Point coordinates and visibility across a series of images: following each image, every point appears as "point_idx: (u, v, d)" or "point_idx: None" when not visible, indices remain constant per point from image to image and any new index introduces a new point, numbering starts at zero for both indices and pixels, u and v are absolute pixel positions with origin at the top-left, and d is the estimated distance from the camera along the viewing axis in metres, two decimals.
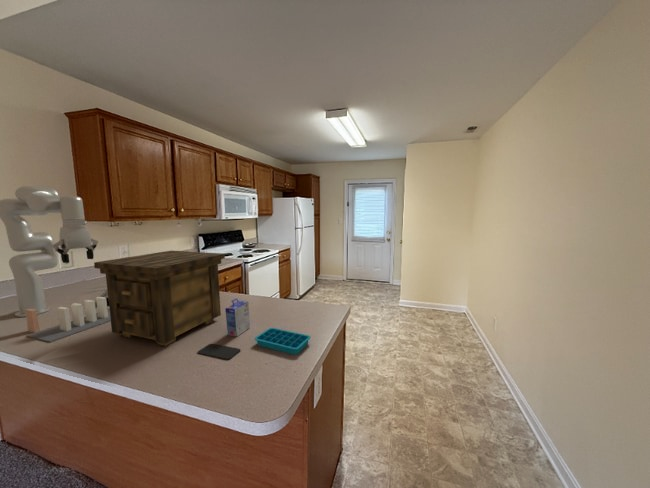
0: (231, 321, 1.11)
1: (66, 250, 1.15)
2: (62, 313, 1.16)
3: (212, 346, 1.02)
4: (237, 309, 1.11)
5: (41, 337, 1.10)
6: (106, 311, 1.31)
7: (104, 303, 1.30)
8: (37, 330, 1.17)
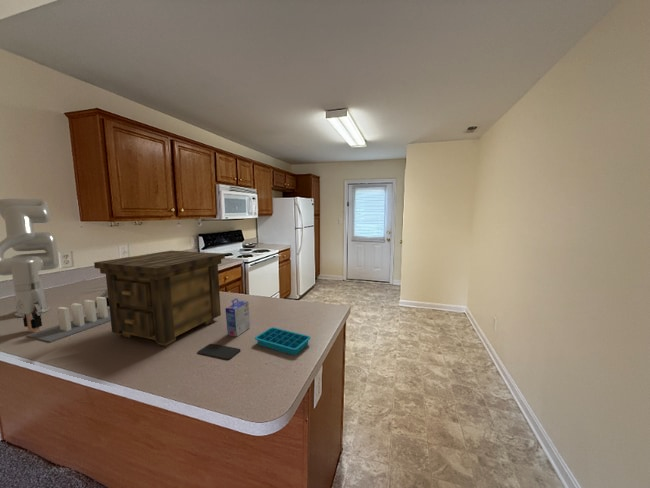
0: (231, 321, 1.11)
1: None
2: (62, 313, 1.16)
3: (212, 346, 1.02)
4: (237, 309, 1.11)
5: (41, 337, 1.10)
6: (106, 311, 1.31)
7: (104, 303, 1.30)
8: (37, 330, 1.17)
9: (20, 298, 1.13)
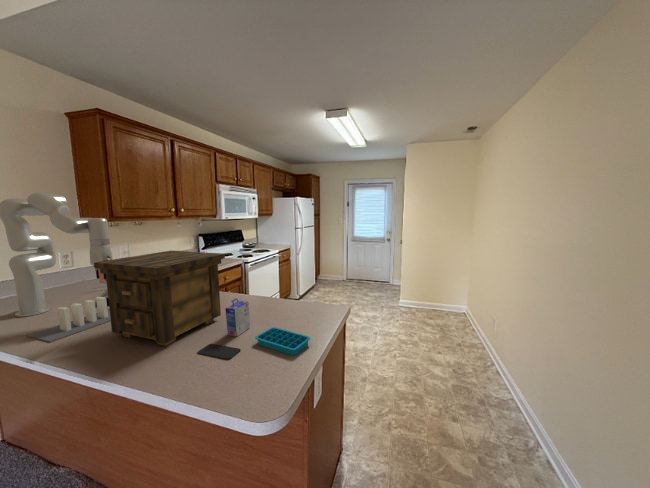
0: (231, 321, 1.11)
1: None
2: (62, 313, 1.16)
3: (212, 346, 1.02)
4: (237, 309, 1.11)
5: (41, 337, 1.10)
6: (106, 311, 1.31)
7: (104, 303, 1.30)
8: None
9: (95, 252, 1.28)
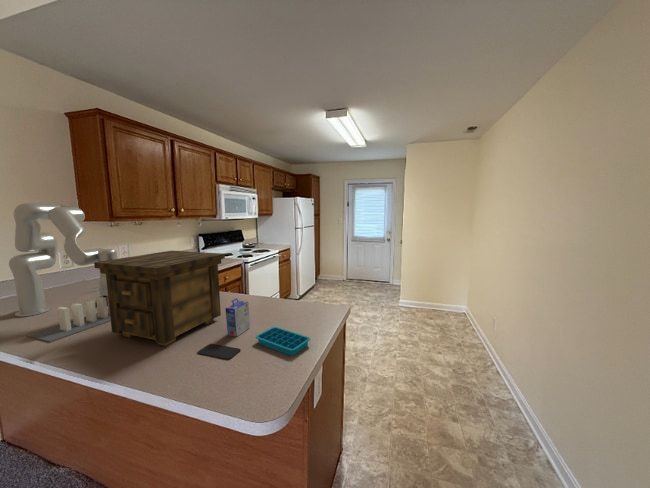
0: (231, 321, 1.11)
1: None
2: (62, 313, 1.16)
3: (212, 346, 1.02)
4: (237, 309, 1.11)
5: (41, 337, 1.10)
6: (106, 311, 1.31)
7: (104, 303, 1.30)
8: None
9: (105, 282, 1.32)
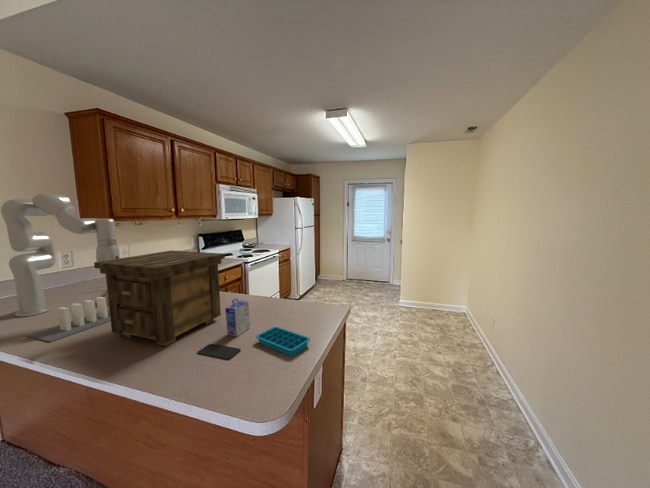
0: (231, 321, 1.11)
1: None
2: (62, 313, 1.16)
3: (212, 346, 1.02)
4: (237, 309, 1.11)
5: (41, 337, 1.10)
6: (106, 311, 1.31)
7: (104, 303, 1.30)
8: None
9: (103, 252, 1.30)
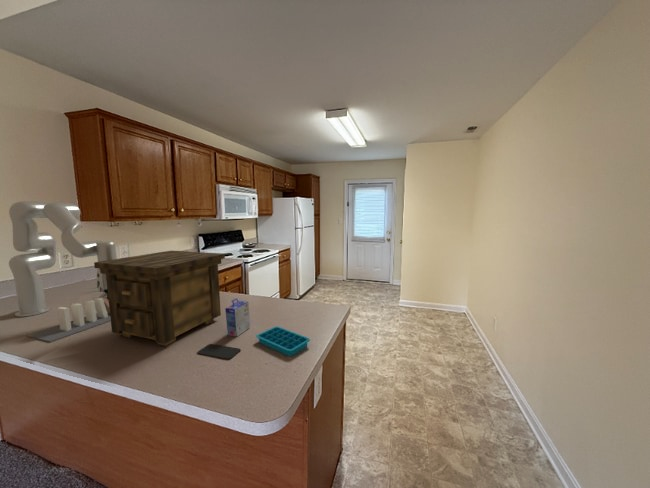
0: (231, 321, 1.11)
1: None
2: (62, 313, 1.16)
3: (212, 346, 1.02)
4: (237, 309, 1.11)
5: (41, 337, 1.10)
6: (105, 311, 1.31)
7: (102, 304, 1.29)
8: None
9: None
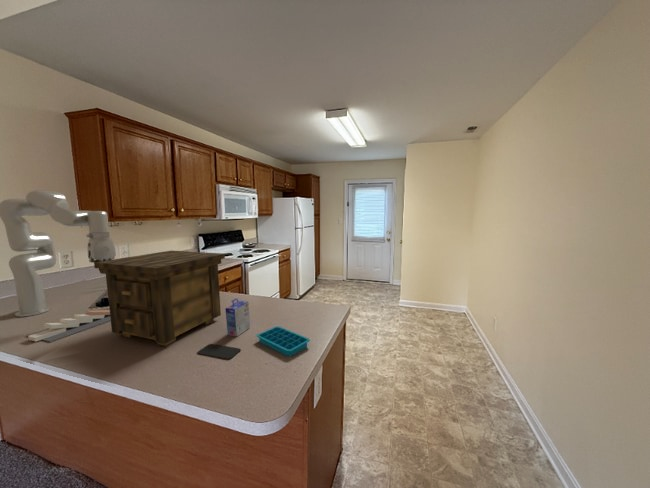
0: (231, 321, 1.11)
1: None
2: None
3: (212, 346, 1.02)
4: (237, 309, 1.11)
5: None
6: (97, 316, 1.27)
7: (87, 317, 1.23)
8: None
9: (105, 244, 1.30)
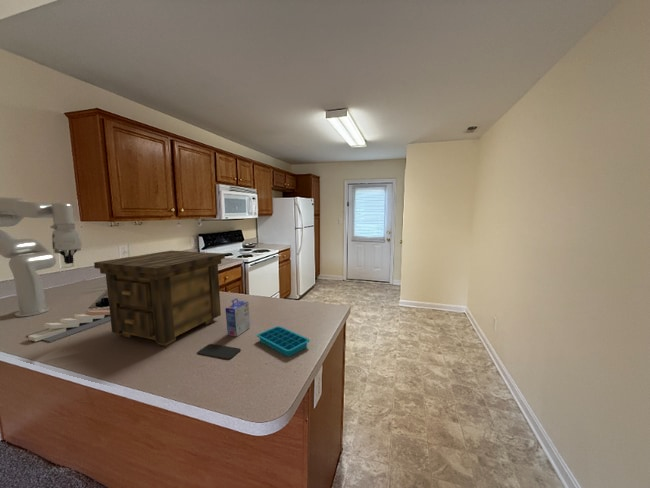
0: (231, 321, 1.11)
1: None
2: None
3: (212, 346, 1.02)
4: (237, 309, 1.11)
5: None
6: (97, 316, 1.27)
7: (87, 317, 1.23)
8: None
9: (70, 236, 1.32)
